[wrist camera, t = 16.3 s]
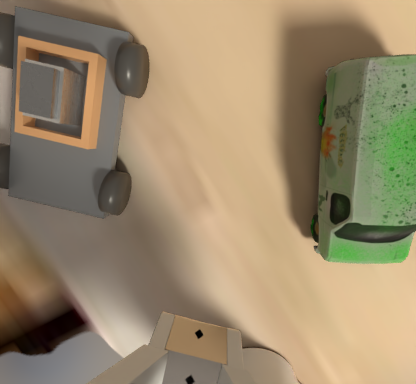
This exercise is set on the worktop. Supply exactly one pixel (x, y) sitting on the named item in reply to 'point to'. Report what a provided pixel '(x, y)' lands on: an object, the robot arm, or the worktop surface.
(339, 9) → the worktop surface
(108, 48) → the chassis
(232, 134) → the worktop surface
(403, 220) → the toy car
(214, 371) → the robot arm
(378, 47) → the worktop surface
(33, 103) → the grey wooden block
